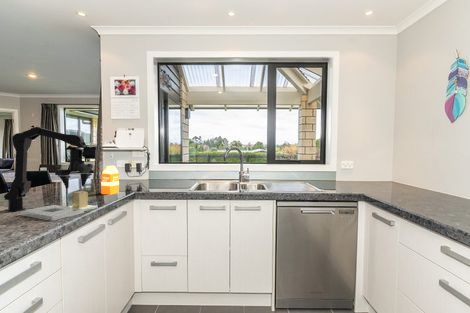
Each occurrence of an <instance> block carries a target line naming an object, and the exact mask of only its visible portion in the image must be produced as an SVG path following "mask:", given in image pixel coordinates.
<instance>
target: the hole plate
mask: <svg viewBox="0 0 470 313" xmlns="http://www.w3.org/2000/svg"><path fill="white" fill-rule="evenodd" d="M84 213H85V212H84V209H79V208H72V207H68V206H65V205H58V204H52V205H46V206H40V207H36V208H35V207H34V208H29V209H25V210H20V216H23V217H29V218H34V219H40V220H45V221H51V222H52V221H57V220H60V219H65V218H69V217H73V216H76V215H81V214H84Z"/></svg>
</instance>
